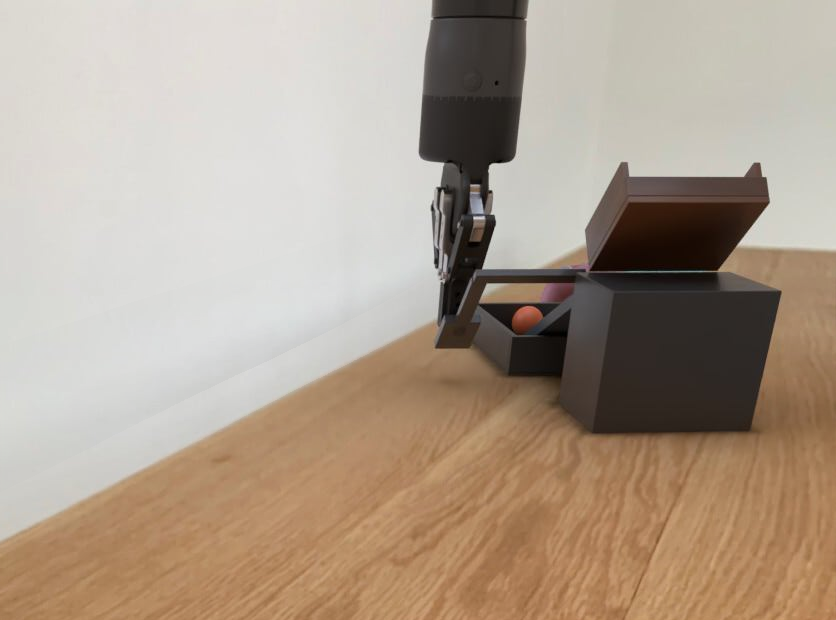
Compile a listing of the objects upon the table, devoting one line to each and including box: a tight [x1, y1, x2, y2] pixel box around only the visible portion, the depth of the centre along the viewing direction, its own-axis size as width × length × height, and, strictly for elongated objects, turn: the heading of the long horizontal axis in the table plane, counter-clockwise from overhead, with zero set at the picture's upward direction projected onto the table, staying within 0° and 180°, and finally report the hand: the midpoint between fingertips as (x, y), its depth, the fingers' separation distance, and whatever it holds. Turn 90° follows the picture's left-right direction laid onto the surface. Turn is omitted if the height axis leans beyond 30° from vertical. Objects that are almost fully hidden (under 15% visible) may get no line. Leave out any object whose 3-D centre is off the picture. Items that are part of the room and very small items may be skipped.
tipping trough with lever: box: [433, 161, 771, 350], centre depth 85 cm, size 19×20×4 cm
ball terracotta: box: [512, 306, 543, 335], centre depth 107 cm, size 3×3×3 cm
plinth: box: [558, 271, 783, 435], centre depth 82 cm, size 8×12×10 cm
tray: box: [472, 301, 568, 377], centre depth 103 cm, size 16×15×4 cm
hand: (451, 329), depth 93 cm, fingers closed
